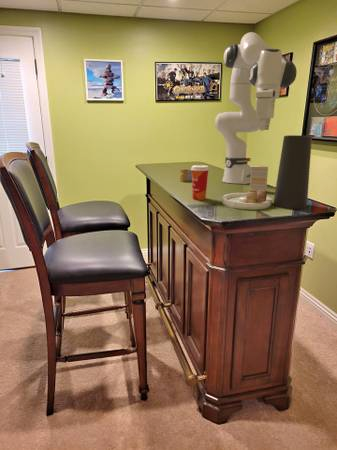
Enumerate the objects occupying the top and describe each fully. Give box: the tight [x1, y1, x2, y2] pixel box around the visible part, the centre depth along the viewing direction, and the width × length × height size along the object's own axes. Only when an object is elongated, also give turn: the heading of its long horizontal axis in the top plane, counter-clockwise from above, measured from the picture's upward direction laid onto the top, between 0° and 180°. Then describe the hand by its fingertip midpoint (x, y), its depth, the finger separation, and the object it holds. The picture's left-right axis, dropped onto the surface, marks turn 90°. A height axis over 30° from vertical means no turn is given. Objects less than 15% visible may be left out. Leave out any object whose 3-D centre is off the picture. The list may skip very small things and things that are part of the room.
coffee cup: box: [190, 164, 210, 201], centre depth 154 cm, size 8×8×15 cm
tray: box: [220, 192, 273, 211], centre depth 147 cm, size 21×21×2 cm
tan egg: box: [246, 191, 257, 203], centre depth 141 cm, size 4×4×5 cm
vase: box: [272, 134, 313, 210], centre depth 140 cm, size 14×14×29 cm
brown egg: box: [256, 190, 268, 203], centre depth 144 cm, size 4×4×5 cm
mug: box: [179, 168, 192, 183], centre depth 199 cm, size 12×7×7 cm, turn 94°
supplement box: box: [249, 165, 269, 193], centre depth 170 cm, size 8×5×13 cm, turn 71°
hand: (264, 130), depth 137 cm, fingers open, 8 cm apart
